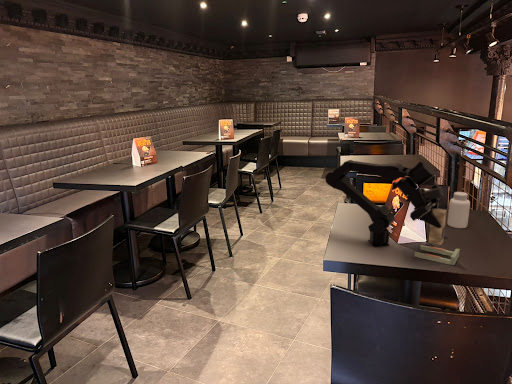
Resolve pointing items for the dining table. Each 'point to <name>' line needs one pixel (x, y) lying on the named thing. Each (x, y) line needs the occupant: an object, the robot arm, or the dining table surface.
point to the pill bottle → (458, 210)
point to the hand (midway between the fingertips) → (441, 225)
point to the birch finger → (438, 233)
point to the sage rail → (451, 261)
